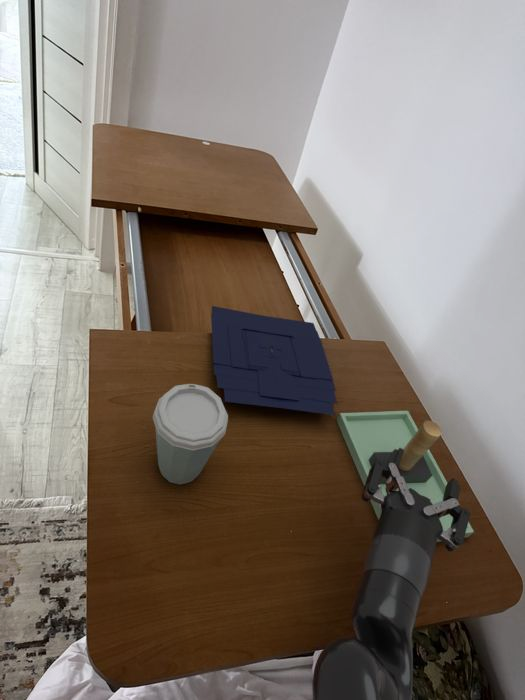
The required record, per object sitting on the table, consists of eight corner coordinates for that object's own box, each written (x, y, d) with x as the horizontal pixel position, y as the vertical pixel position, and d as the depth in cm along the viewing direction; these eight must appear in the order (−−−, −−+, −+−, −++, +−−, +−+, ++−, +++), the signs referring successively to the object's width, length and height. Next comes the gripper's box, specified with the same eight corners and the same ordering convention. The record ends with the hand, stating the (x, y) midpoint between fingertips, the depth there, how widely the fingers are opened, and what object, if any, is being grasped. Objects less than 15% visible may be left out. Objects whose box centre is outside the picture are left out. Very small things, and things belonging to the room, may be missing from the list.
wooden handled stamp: (425, 482, 91) (464, 441, 82) (377, 484, 88) (412, 441, 79) (415, 458, 94) (450, 416, 86) (368, 459, 91) (400, 415, 83)
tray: (467, 537, 86) (474, 531, 84) (390, 549, 80) (396, 543, 79) (403, 416, 103) (408, 410, 101) (335, 419, 97) (340, 412, 95)
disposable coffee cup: (212, 498, 78) (235, 442, 68) (141, 497, 75) (154, 439, 65) (208, 440, 85) (227, 382, 75) (143, 438, 82) (154, 377, 72)
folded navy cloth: (210, 411, 88) (215, 396, 86) (208, 315, 112) (211, 302, 110) (339, 426, 94) (346, 412, 92) (310, 332, 118) (316, 319, 115)
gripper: (337, 539, 66) (372, 455, 78) (437, 600, 64) (457, 504, 76) (360, 512, 61) (393, 426, 73) (468, 577, 59) (484, 478, 71)
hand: (425, 466), depth 74 cm, fingers open, 8 cm apart
